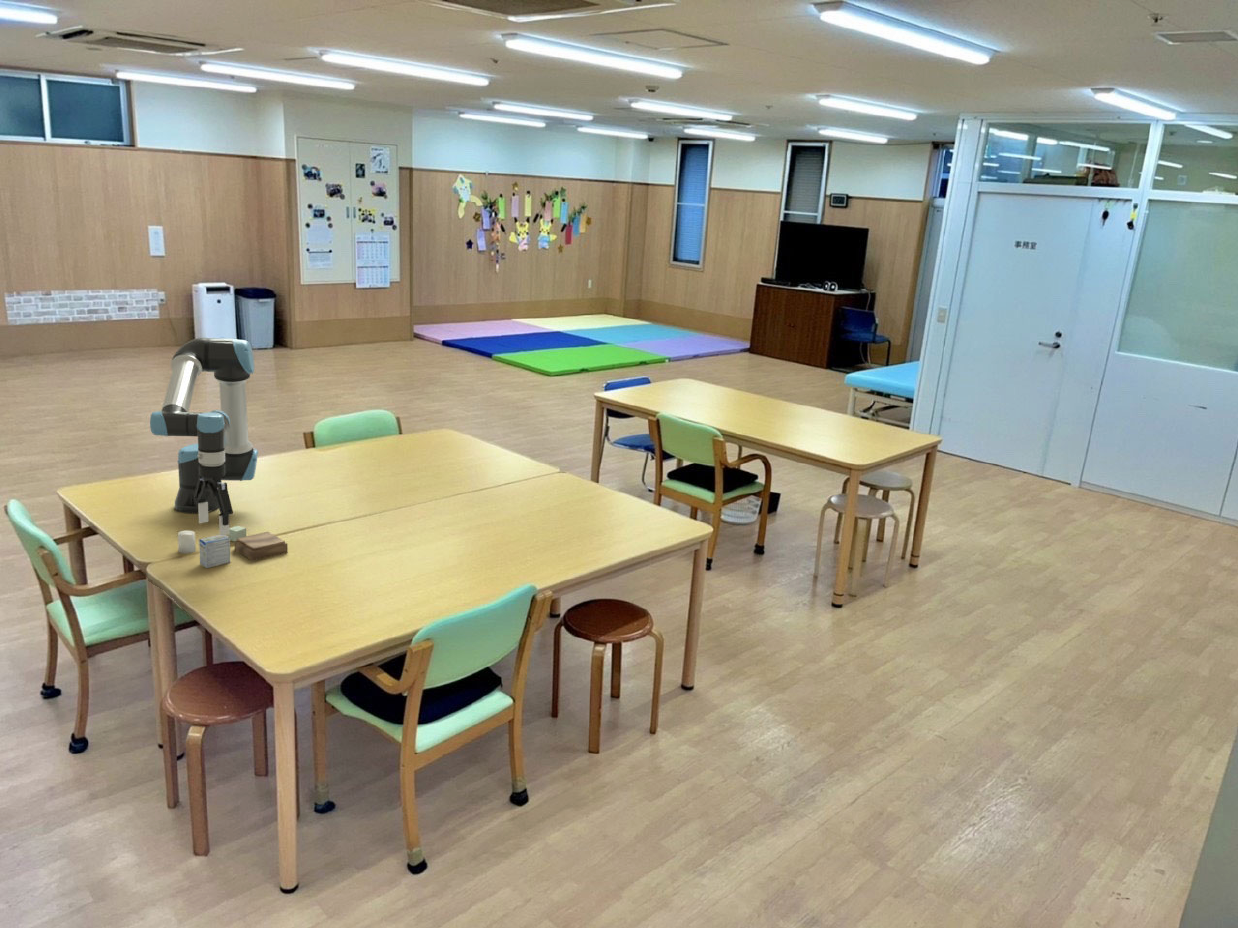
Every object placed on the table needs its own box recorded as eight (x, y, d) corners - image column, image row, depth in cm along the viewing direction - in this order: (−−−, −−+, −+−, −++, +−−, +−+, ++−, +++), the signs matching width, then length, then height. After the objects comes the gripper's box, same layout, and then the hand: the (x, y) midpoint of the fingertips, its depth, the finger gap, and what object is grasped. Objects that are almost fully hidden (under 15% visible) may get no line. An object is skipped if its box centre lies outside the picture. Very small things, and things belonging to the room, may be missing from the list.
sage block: (228, 539, 306) (227, 528, 305) (237, 536, 310) (237, 525, 309) (236, 542, 305) (236, 531, 304) (246, 539, 308) (246, 528, 307)
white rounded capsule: (175, 549, 294) (175, 532, 293) (191, 546, 298) (190, 529, 296) (182, 554, 291) (182, 537, 290) (198, 551, 295) (197, 533, 293)
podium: (234, 549, 299) (234, 538, 298) (268, 541, 308) (268, 530, 307) (253, 560, 292) (253, 549, 290) (287, 552, 300) (287, 541, 299)
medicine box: (223, 558, 291) (223, 533, 289) (230, 562, 289) (230, 537, 286) (199, 564, 285) (198, 538, 283) (206, 568, 283) (205, 542, 280)
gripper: (180, 455, 283) (183, 519, 288) (219, 474, 268) (221, 542, 273) (204, 452, 288) (206, 515, 294) (244, 471, 273) (245, 537, 279)
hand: (213, 528), depth 284 cm, fingers open, 13 cm apart
